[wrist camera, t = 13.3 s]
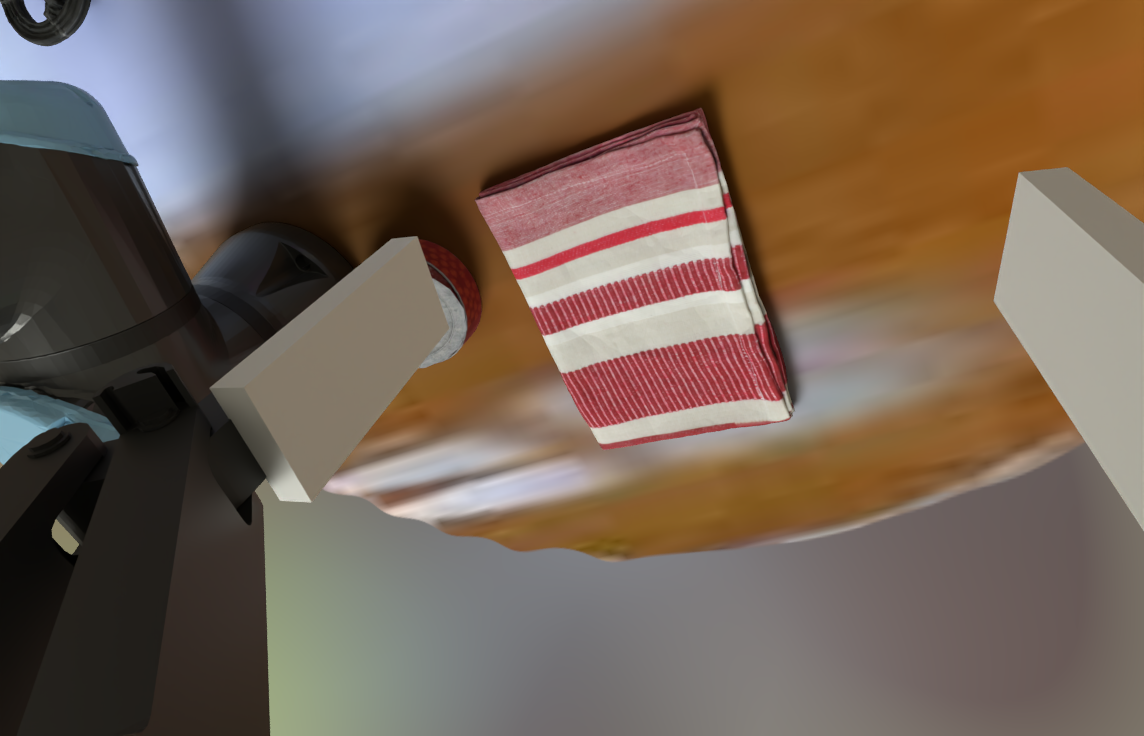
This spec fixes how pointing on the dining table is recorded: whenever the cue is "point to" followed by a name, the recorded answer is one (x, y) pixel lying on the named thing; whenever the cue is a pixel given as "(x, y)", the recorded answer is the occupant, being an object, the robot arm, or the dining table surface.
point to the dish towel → (643, 286)
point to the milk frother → (63, 19)
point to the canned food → (452, 300)
